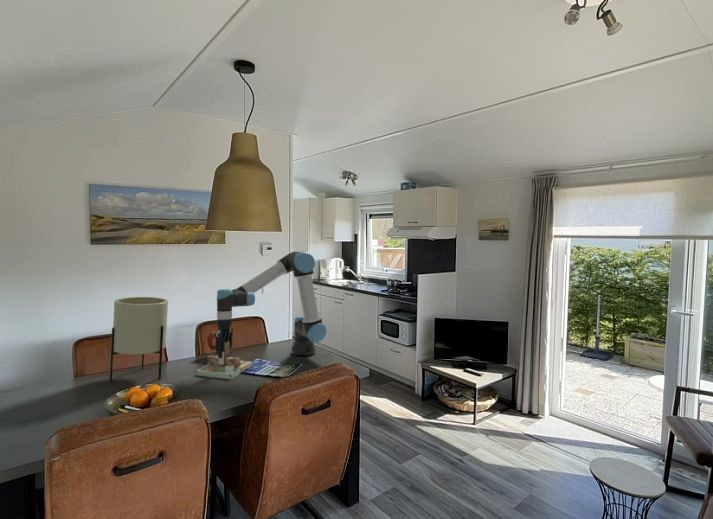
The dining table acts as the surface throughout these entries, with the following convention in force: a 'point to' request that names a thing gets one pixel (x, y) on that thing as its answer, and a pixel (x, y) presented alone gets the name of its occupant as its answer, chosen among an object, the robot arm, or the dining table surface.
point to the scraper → (227, 360)
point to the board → (242, 365)
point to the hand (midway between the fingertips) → (224, 362)
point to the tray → (218, 372)
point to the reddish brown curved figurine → (210, 342)
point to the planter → (139, 327)
